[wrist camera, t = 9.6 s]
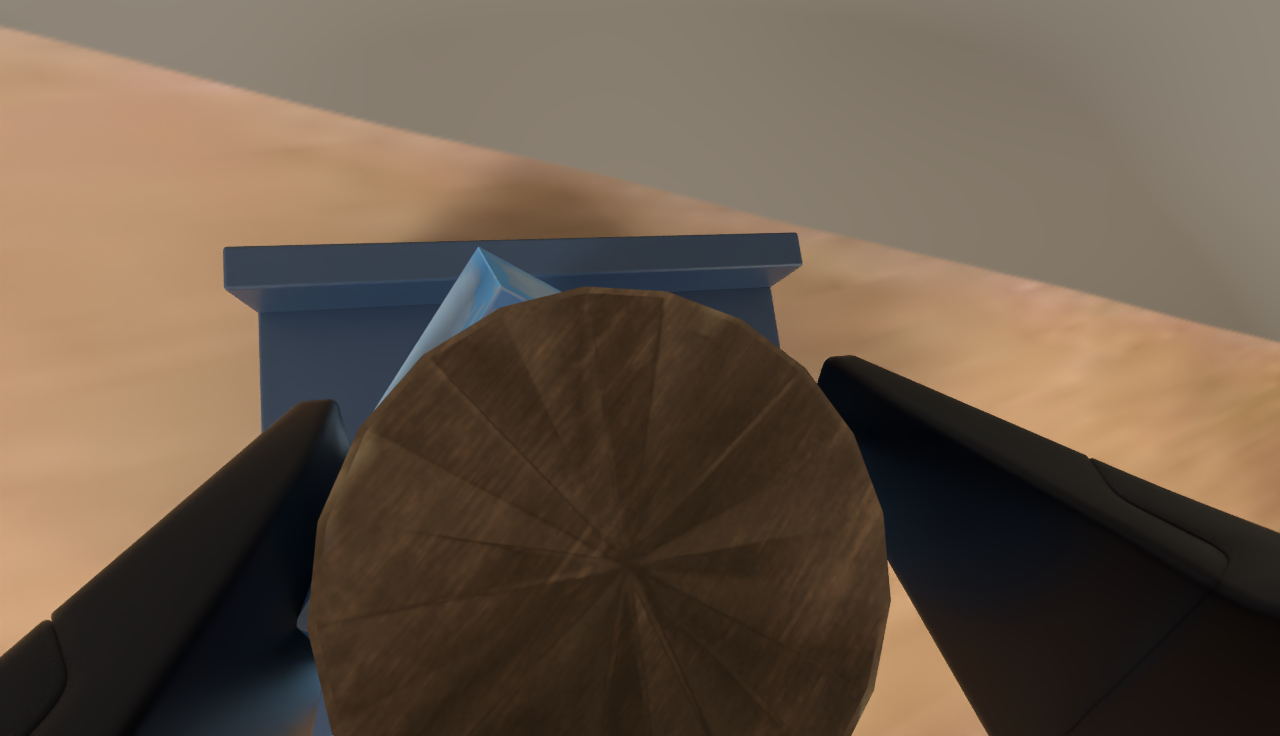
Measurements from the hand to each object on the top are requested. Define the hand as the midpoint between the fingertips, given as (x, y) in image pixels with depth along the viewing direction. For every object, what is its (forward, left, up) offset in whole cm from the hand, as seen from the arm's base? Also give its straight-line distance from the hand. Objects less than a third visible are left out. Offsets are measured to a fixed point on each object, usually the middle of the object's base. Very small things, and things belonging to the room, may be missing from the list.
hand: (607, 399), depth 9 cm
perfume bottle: (-2, 0, -7) cm, 7 cm away
